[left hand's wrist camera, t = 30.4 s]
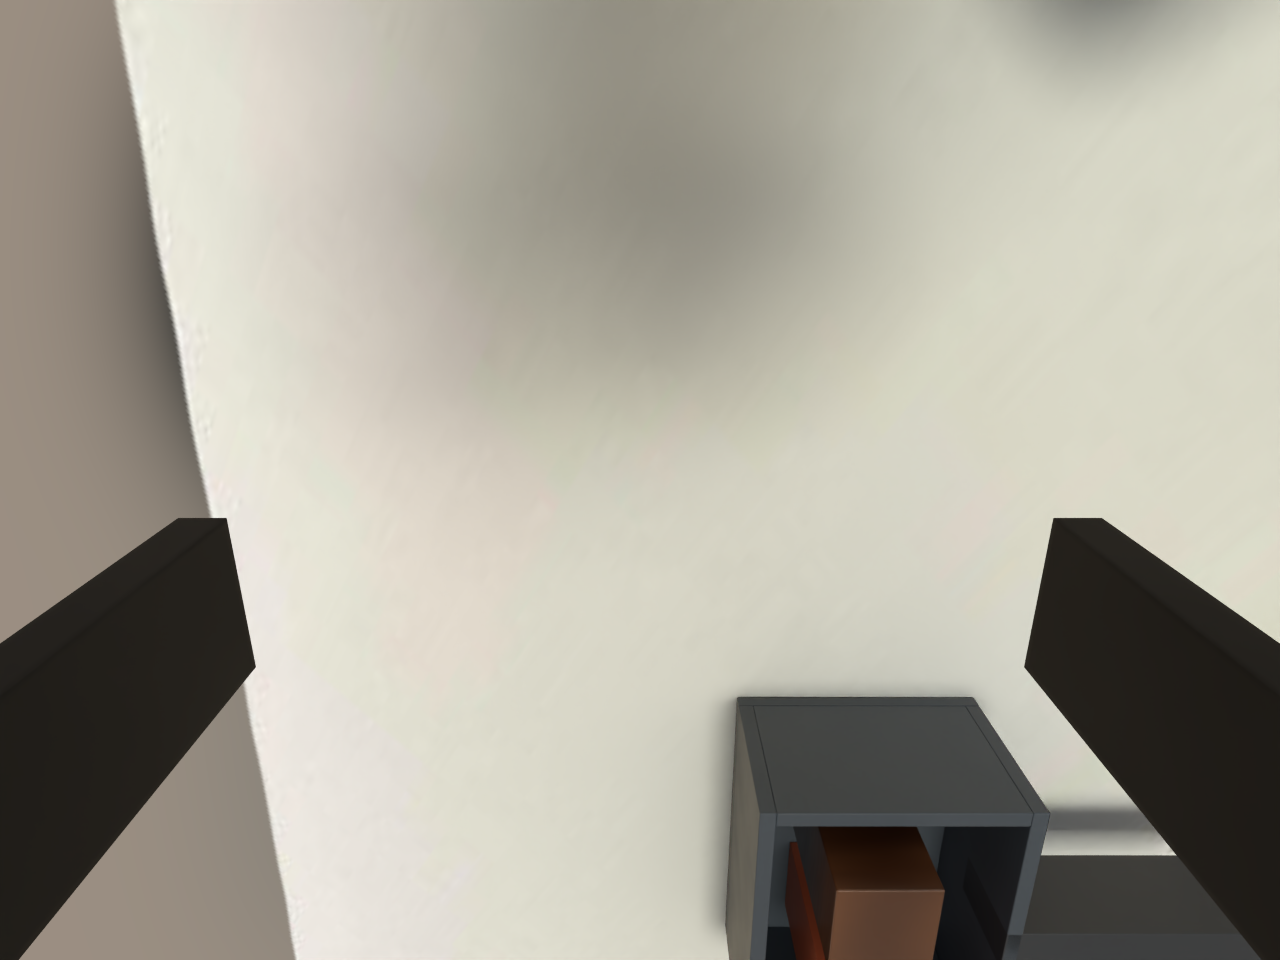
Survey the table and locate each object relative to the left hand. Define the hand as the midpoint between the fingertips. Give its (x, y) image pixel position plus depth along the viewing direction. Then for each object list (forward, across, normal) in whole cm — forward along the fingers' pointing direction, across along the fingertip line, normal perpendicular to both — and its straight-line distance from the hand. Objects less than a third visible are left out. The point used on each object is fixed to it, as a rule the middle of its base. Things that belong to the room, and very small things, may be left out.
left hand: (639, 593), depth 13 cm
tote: (+27, +19, -30) cm, 44 cm away
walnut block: (+26, +12, -26) cm, 39 cm away
